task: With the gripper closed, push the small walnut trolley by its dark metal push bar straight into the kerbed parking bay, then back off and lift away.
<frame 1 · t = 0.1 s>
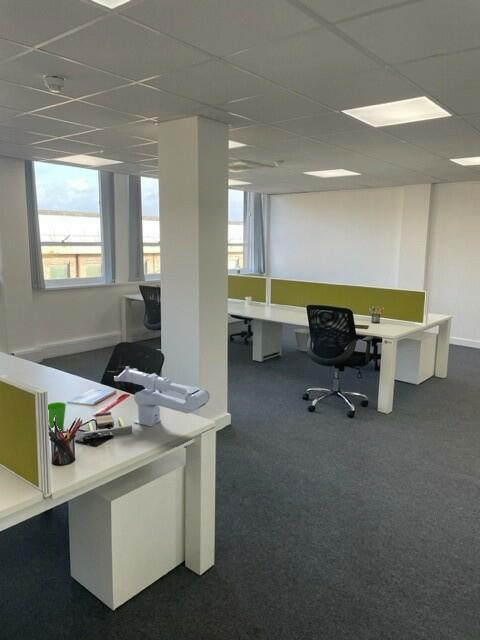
hand: (112, 371, 224), 22 cm above the table, tool horizontal, fingers open, 7 cm apart
bay: (106, 429, 210), on the table
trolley: (104, 423, 216), on the table
cup: (57, 429, 210), on the table
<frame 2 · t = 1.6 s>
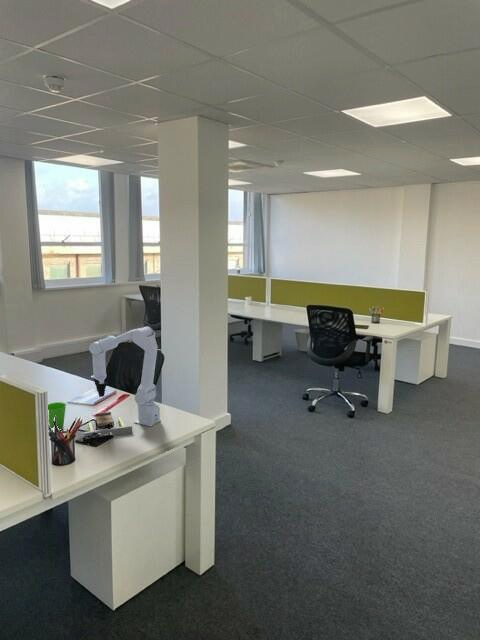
hand: (100, 393, 225), 10 cm above the table, tool pointing down, fingers open, 7 cm apart
nothing on the table moved.
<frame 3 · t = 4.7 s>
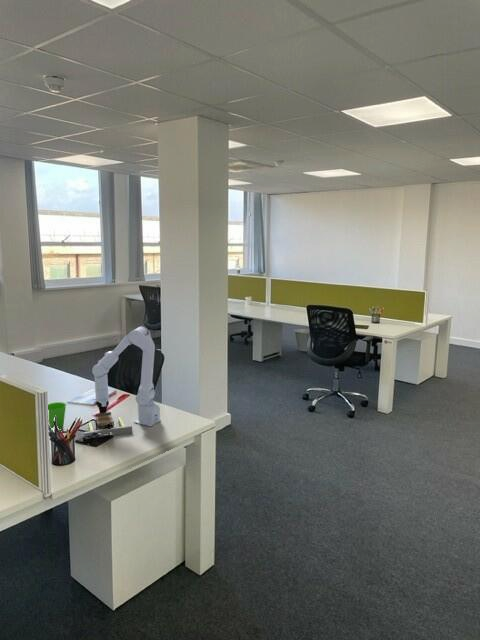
hand: (103, 416, 222), 1 cm above the table, tool pointing down, fingers closed
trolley: (104, 423, 216), on the table, touching gripper
everything else where it was.
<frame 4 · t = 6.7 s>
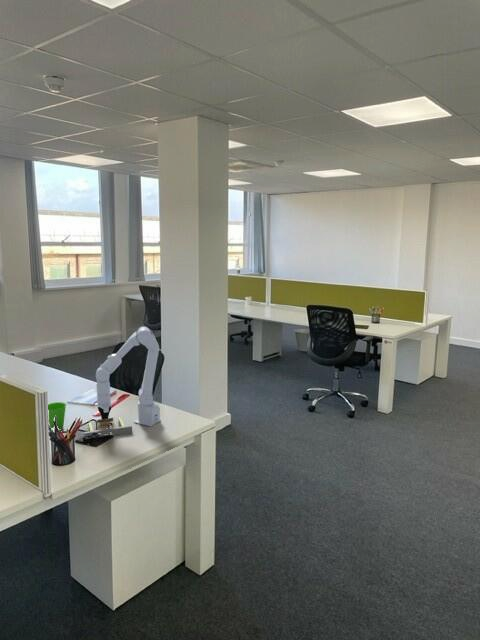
hand: (105, 422, 215), 1 cm above the table, tool pointing down, fingers closed
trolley: (106, 430, 209), resting in bay, touching gripper
everything else where it was.
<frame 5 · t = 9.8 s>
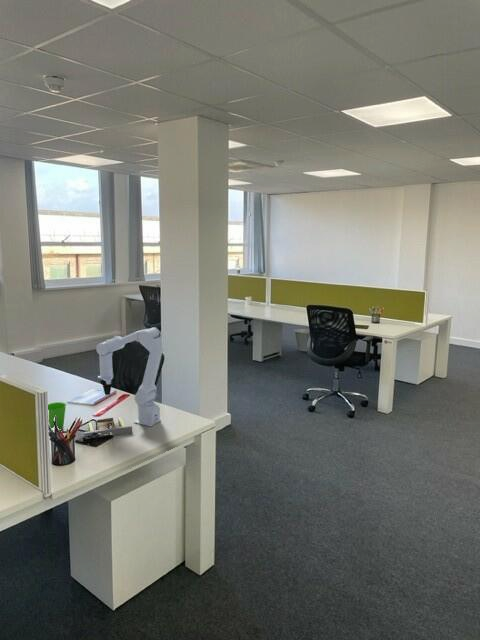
hand: (107, 394, 225), 10 cm above the table, tool pointing down, fingers closed
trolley: (106, 430, 209), resting in bay
everything else where it was.
at the end: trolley 0.6 cm from the bay (horizontally); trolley tilted 0°; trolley moved 7.6 cm from its start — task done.
